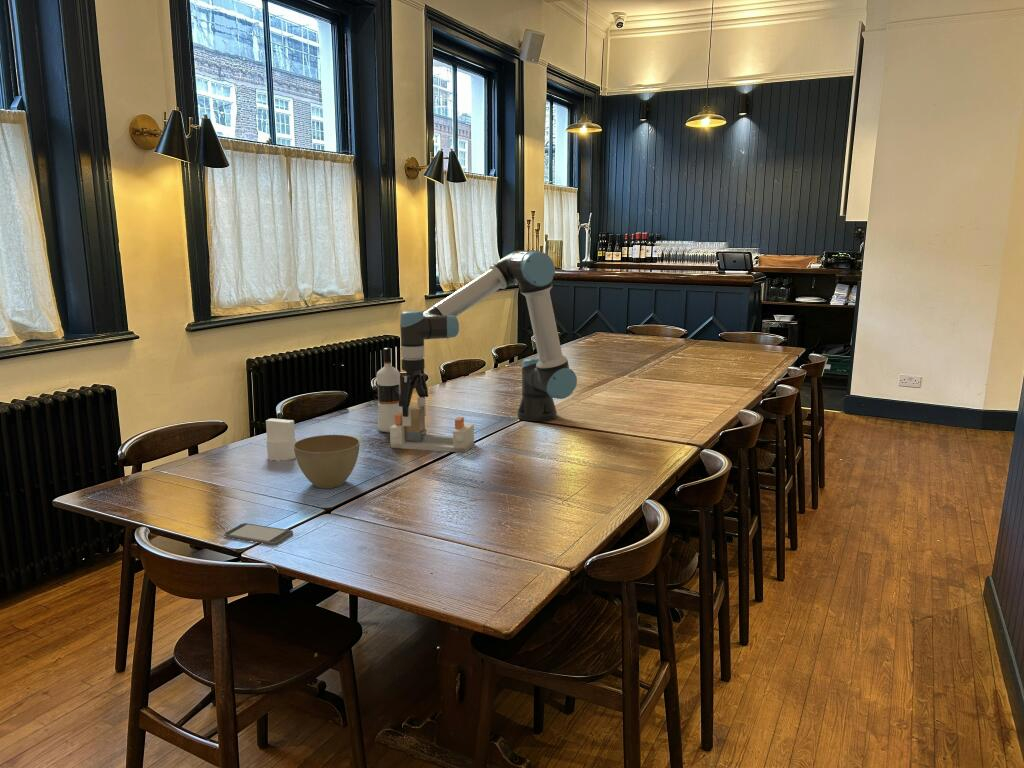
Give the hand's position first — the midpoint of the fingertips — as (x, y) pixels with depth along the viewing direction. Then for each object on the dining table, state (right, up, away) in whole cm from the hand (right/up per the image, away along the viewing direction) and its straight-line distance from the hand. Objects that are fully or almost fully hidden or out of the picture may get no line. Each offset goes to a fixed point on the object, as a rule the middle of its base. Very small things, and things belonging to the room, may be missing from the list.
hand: (414, 420), depth 245 cm
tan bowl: (-20, -16, -36) cm, 44 cm away
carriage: (0, -6, +1) cm, 6 cm away
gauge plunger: (-5, -1, +2) cm, 5 cm away
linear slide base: (+6, -8, 0) cm, 10 cm away
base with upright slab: (-41, -11, -10) cm, 44 cm away
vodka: (-11, -4, +21) cm, 24 cm away
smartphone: (-28, -24, -71) cm, 80 cm away
